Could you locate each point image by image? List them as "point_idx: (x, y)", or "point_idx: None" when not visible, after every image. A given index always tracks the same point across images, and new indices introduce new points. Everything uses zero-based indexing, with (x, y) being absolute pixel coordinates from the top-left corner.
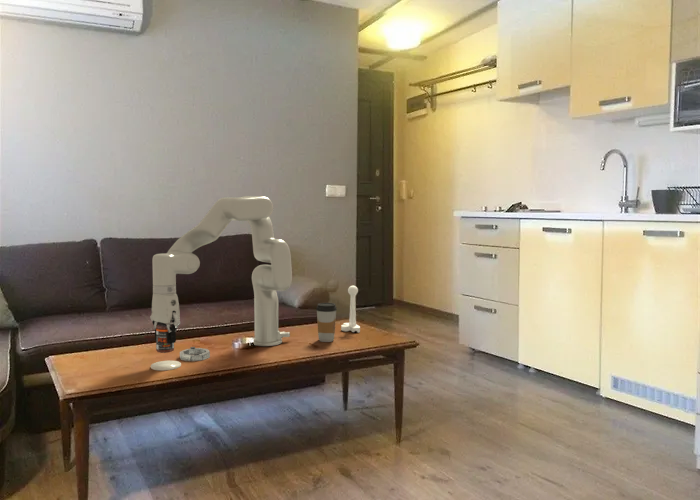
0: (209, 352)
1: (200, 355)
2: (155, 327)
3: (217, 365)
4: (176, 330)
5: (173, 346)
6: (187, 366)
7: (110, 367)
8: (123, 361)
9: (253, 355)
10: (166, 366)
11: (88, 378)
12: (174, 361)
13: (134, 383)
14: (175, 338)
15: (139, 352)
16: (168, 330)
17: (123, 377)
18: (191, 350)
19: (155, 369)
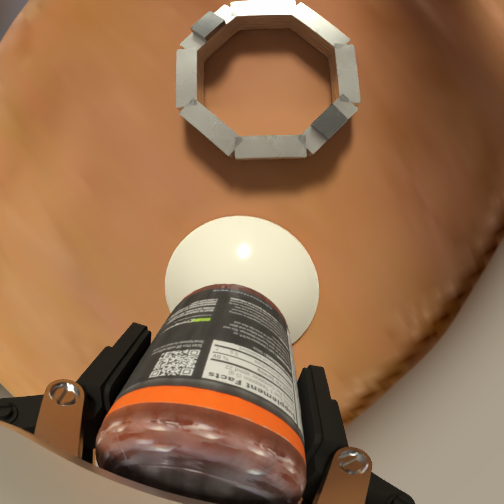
0: (353, 46)
1: (349, 116)
2: (89, 452)
3: (459, 174)
4: (366, 456)
5: (290, 339)
6: (346, 246)
7: (73, 369)
8: (41, 296)
9: (472, 5)
10: None
11: None
12: (241, 228)
13: None
14: (326, 387)
15: (2, 168)
16: (304, 500)
17: None
18: (210, 41)
19: None
